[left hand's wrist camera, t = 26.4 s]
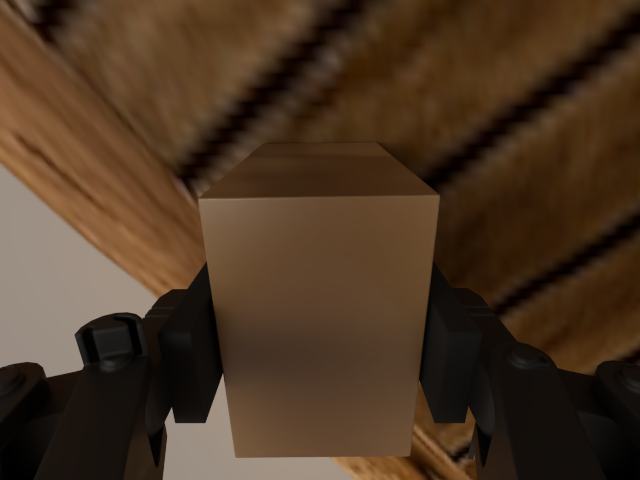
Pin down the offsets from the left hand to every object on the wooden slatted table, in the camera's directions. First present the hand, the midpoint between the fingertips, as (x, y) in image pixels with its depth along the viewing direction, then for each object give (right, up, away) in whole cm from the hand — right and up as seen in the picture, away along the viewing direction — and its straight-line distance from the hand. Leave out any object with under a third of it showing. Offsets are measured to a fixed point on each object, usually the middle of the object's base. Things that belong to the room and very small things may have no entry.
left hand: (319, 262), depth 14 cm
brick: (0, +2, +4) cm, 5 cm away
